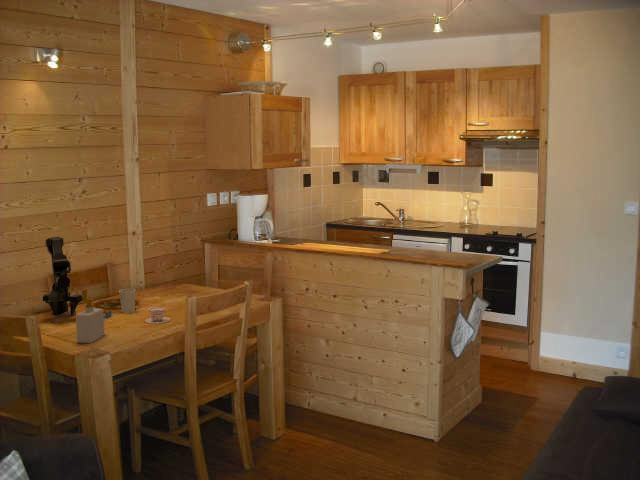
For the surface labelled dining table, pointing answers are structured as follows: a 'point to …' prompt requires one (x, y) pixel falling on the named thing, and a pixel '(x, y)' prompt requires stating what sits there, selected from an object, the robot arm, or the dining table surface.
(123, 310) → the cup
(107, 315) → the bracket far
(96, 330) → the soap bottle
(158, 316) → the teacup
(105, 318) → the board
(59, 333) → the dining table surface
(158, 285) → the dining table surface
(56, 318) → the rail
